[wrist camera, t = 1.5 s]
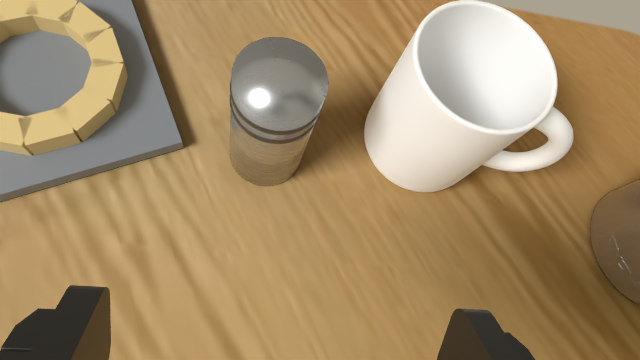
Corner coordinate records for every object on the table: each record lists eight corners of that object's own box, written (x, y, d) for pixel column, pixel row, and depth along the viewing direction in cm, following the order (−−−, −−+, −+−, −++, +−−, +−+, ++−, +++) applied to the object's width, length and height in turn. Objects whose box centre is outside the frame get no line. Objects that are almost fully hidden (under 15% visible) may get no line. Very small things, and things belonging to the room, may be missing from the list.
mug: (523, 140, 36) (628, 66, 27) (499, 236, 33) (608, 190, 24) (382, 75, 36) (438, -24, 27) (344, 166, 33) (393, 90, 23)
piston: (285, 112, 33) (307, 27, 25) (312, 173, 32) (344, 107, 23) (218, 131, 32) (216, 48, 23) (243, 196, 31) (251, 135, 22)
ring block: (123, -20, 35) (116, -46, 32) (183, 148, 31) (180, 131, 29) (-100, 21, 30) (-127, -6, 28) (-59, 219, 27) (-86, 206, 25)
